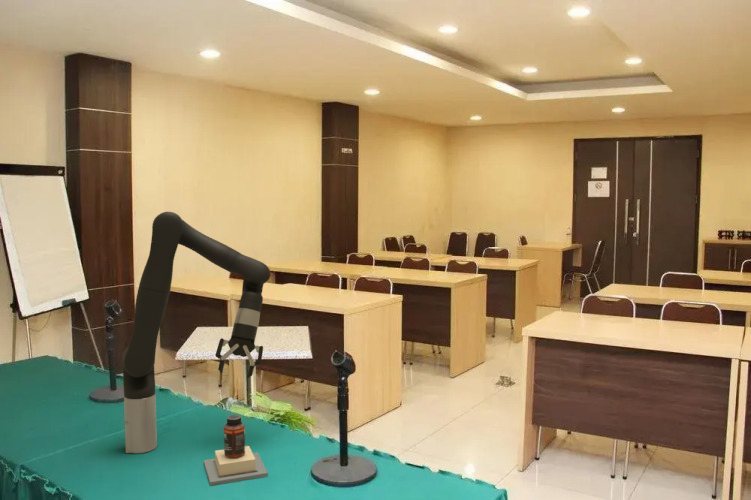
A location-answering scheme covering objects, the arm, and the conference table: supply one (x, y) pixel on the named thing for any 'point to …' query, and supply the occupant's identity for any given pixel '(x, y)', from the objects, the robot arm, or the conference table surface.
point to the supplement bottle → (234, 437)
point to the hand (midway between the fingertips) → (234, 375)
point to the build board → (234, 478)
